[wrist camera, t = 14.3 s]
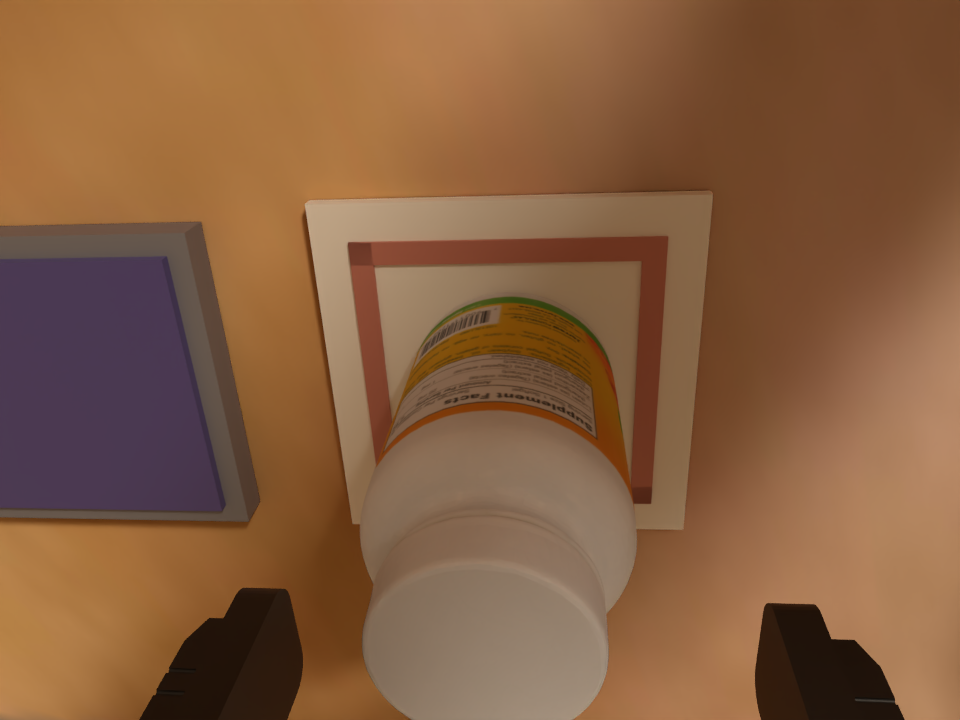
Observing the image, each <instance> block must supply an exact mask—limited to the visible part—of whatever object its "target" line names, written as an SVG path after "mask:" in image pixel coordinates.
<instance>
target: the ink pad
mask: <svg viewBox="0 0 960 720" xmlns="http://www.w3.org/2000/svg"><path fill="white" fill-rule="evenodd" d="M259 503H260V498H259V494H258V489H257V484H256V479H255V475H254V470H253V465H252V461H251V456H250V451H249V446H248V442H247V437H246V432H245V428H244V423H243V418H242V413H241V409H240V404H239V399H238V395H237V390H236V385H235V380H234V376H233V371H232V366H231V362H230V357H229V352H228V347H227V343H226V338H225V333H224V329H223V324H222V319H221V314H220V310H219V305H218V300H217V296H216V291H215V286H214V281H213V277H212V272H211V267H210V262H209V258H208V253H207V248H206V244H205V239H204V234H203V229H202V225H201V222H171V223H126V224H80V225H35V226H0V517H17V518H73V519H129V520H185V521H241V522H249V520H250V519H251V517H252V515H253V513H254V512H255V510H256V508H257V506H258V505H259Z"/></svg>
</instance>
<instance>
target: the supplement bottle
mask: <svg viewBox="0 0 960 720" xmlns="http://www.w3.org/2000/svg"><path fill="white" fill-rule="evenodd" d="M360 542H361V549H362V554H363V558H364V561H365V565H366V568H367V571H368V573H369V576H370V578H371V580H372V582H373V584H374V585H373V589H372V595H371V599H370V603H369V607H368V611H367V615H366V618H365V622H364V626H363V633H362V652H363V658H364V661H365V665H366V668H367V671H368V673H369V675H370V677H371V679H372V681H373V682H374V684H375V686H376V688H377V689H378V690H379V691H380V693H381V694H382V695H383V696H384V697H385V699H386V700H387V701H388V702H389V703H390V704H391V705H392V706H393V707H395V708H396V709H397V710H398V711H400V712H401V713H403V714H404V715H405V716H407V717H408V718H410V719H411V720H573V719H574V718H576V717H577V716H578V715H580V714H581V713H582V712H583V711H584V710H585V709H586V708H587V707H588V706H589V705H590V704H591V703H592V701H593V700H594V698H595V697H596V696H597V694H598V693H599V691H600V689H601V687H602V685H603V682H604V679H605V676H606V673H607V668H608V658H609V646H608V628H607V617H606V614H607V613H608V612H609V610H610V609H611V608H612V607H613V606H614V605H615V603H616V602H617V601H618V599H619V598H620V596H621V594H622V593H623V591H624V589H625V587H626V585H627V583H628V581H629V578H630V575H631V573H632V570H633V567H634V562H635V557H636V551H637V531H636V518H635V509H634V502H633V496H632V490H631V484H630V477H629V471H628V464H627V458H626V451H625V444H624V438H623V431H622V425H621V419H620V412H619V406H618V399H617V393H616V387H615V381H614V376H613V372H612V368H611V363H610V360H609V357H608V354H607V352H606V350H605V347H604V345H603V344H602V342H601V340H600V339H599V337H598V336H597V334H596V333H595V332H594V331H593V329H592V328H591V327H590V326H589V325H588V324H587V323H586V322H585V321H584V320H583V319H582V318H581V317H579V316H578V315H577V314H576V313H574V312H573V311H571V310H570V309H568V308H567V307H565V306H563V305H561V304H559V303H557V302H555V301H553V300H550V299H548V298H545V297H542V296H538V295H534V294H529V293H521V292H503V293H495V294H489V295H485V296H481V297H477V298H474V299H472V300H469V301H467V302H465V303H463V304H461V305H459V306H457V307H456V308H454V309H453V310H451V311H450V312H448V313H447V314H446V315H444V316H443V317H442V318H441V319H440V320H439V321H438V322H437V323H436V324H435V325H434V326H433V328H432V329H431V330H430V331H429V333H428V334H427V336H426V337H425V339H424V341H423V342H422V344H421V346H420V349H419V351H418V353H417V355H416V358H415V361H414V363H413V366H412V368H411V371H410V374H409V377H408V379H407V382H406V385H405V388H404V391H403V393H402V396H401V399H400V402H399V404H398V407H397V410H396V413H395V415H394V418H393V421H392V424H391V426H390V429H389V432H388V434H387V437H386V440H385V442H384V445H383V448H382V450H381V453H380V456H379V459H378V461H377V464H376V466H375V469H374V472H373V475H372V477H371V480H370V483H369V486H368V489H367V493H366V496H365V499H364V503H363V508H362V512H361V520H360Z"/></svg>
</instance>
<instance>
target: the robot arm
mask: <svg viewBox="0 0 960 720" xmlns="http://www.w3.org/2000/svg"><path fill="white" fill-rule="evenodd" d="M302 668H303V654H302V648H301V644H300V639H299V635H298V630H297V626H296V622H295V617H294V613H293V609H292V604H291V600H290V596H289V593H288V592H287V590H285V589H271V588H242V589H241V590H239V592H238V593H237V594H236V596H235V598H234V600H233V602H232V603H231V605H230V607H229V609H228V611H227V613H226V615H225V617H224V618H223V619H222V618H209V619H208V620H207V621H205V622H204V623H203V624H202V625H201V626H200V627H199V628H198V629H197V630H196V631H195V632H194V633H193V634H191V635H190V636H189V637H188V638H187V639H186V640H185V641H184V643H183V644H182V646H181V648H180V650H179V651H178V653H177V655H176V657H175V658H174V660H173V662H172V664H171V665H170V667H169V672H168V673H166V674H165V676H164V678H163V679H162V681H161V683H160V685H159V686H158V688H157V693H156V695H153V697H152V698H151V700H150V702H149V704H148V705H147V707H146V709H145V711H144V712H143V714H142V716H141V718H140V719H139V720H287V719H288V716H289V713H290V711H291V708H292V705H293V703H294V700H295V697H296V695H297V692H298V689H299V686H300V682H301V677H302ZM755 688H756V698H757V704H758V709H759V713H760V717H761V720H904V717H903V715H902V713H901V711H900V709H899V706H898V705H896V704H895V698H894V695H893V693H892V691H891V689H890V687H889V684H888V682H887V680H886V678H885V676H884V673H883V671H882V669H881V667H880V666H879V665H878V664H877V663H876V662H875V661H874V660H873V659H872V658H871V657H870V656H869V655H868V654H867V653H866V652H865V650H864V649H863V648H862V647H861V646H860V645H859V644H858V643H857V642H856V641H855V640H837V639H831V637H830V635H829V632H828V630H827V627H826V625H825V622H824V620H823V617H822V614H821V612H820V610H819V609H818V607H817V606H816V605H814V604H780V603H767V604H766V605H765V607H764V611H763V618H762V625H761V632H760V640H759V647H758V654H757V661H756V669H755Z"/></svg>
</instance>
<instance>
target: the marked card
mask: <svg viewBox="0 0 960 720" xmlns="http://www.w3.org/2000/svg"><path fill="white" fill-rule="evenodd" d="M712 203H713V194H712V192H711V191H710V190H708V191H667V192H626V193H586V194H545V195H504V196H463V197H422V198H382V199H341V200H309V201H308V202H307V203H306V204H305V209H306V215H307V222H308V229H309V235H310V242H311V249H312V256H313V262H314V269H315V276H316V282H317V289H318V296H319V303H320V309H321V316H322V323H323V329H324V336H325V343H326V349H327V356H328V363H329V370H330V376H331V383H332V390H333V396H334V403H335V410H336V417H337V423H338V430H339V437H340V443H341V450H342V457H343V464H344V470H345V477H346V484H347V490H348V497H349V504H350V511H351V517H352V524H360V520H361V512H362V508H363V503H364V499H365V496H366V493H367V489H368V486H369V483H370V480H371V477H372V475H373V472H374V469H375V466H376V464H377V461H378V459H379V456H380V453H381V450H382V448H383V445H384V442H385V440H386V437H387V434H388V432H389V429H390V426H391V424H392V421H393V418H394V415H395V413H396V410H397V407H398V404H399V402H400V399H401V396H402V393H403V391H404V388H405V385H406V382H407V379H408V377H409V374H410V371H411V368H412V366H413V363H414V361H415V358H416V355H417V353H418V351H419V349H420V346H421V344H422V342H423V341H424V339H425V337H426V336H427V334H428V333H429V331H430V330H431V329H432V328H433V326H434V325H435V324H436V323H437V322H438V321H439V320H440V319H441V318H442V317H443V316H444V315H446V314H447V313H448V312H450V311H451V310H453V309H454V308H456V307H457V306H459V305H461V304H463V303H465V302H467V301H469V300H472V299H474V298H477V297H481V296H485V295H489V294H495V293H503V292H521V293H529V294H534V295H538V296H542V297H545V298H548V299H550V300H553V301H555V302H557V303H559V304H561V305H563V306H565V307H567V308H568V309H570V310H571V311H573V312H574V313H576V314H577V315H578V316H579V317H581V318H582V319H583V320H584V321H585V322H586V323H587V324H588V325H589V326H590V327H591V328H592V329H593V331H594V332H595V333H596V334H597V336H598V337H599V339H600V340H601V342H602V344H603V345H604V347H605V350H606V352H607V354H608V357H609V360H610V363H611V368H612V372H613V376H614V381H615V387H616V393H617V399H618V406H619V412H620V419H621V425H622V431H623V438H624V444H625V451H626V458H627V464H628V471H629V477H630V484H631V490H632V496H633V502H634V509H635V518H636V529H657V530H683V528H684V517H685V506H686V495H687V483H688V472H689V461H690V450H691V438H692V427H693V416H694V405H695V394H696V382H697V371H698V360H699V349H700V338H701V326H702V315H703V304H704V293H705V282H706V270H707V259H708V248H709V237H710V226H711V214H712Z"/></svg>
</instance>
